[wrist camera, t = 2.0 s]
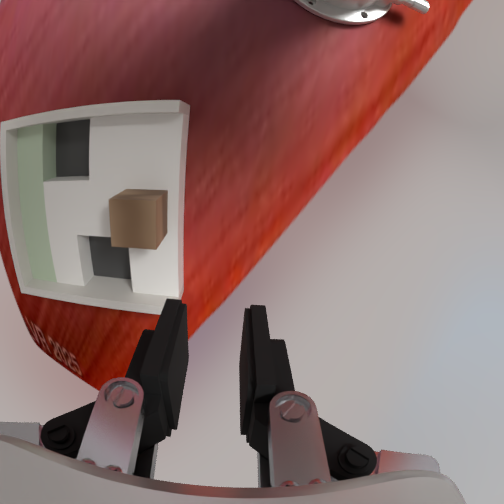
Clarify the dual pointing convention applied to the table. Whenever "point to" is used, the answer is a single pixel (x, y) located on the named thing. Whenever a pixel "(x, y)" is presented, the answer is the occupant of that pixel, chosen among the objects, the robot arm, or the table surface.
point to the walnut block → (138, 218)
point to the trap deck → (94, 201)
